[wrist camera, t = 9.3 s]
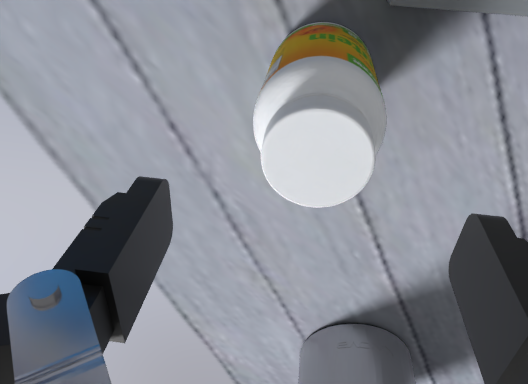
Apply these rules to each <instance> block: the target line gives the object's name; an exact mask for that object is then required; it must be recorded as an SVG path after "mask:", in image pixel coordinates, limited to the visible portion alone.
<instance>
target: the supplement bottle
mask: <svg viewBox="0 0 528 384" xmlns="http://www.w3.org/2000/svg"><path fill="white" fill-rule="evenodd" d="M386 123H387V116H386V108H385V103H384V100H383V96H382V93H381V90H380V87H379V83H378V79H377V76H376V73H375V70H374V66H373V63H372V59H371V56H370V54H369V51H368V49H367V47H366V45H365V44H364V43H363V41H362V40H361V39H360V38H359V37H358V36H357V35H356V34H355V33H354V32H353V31H351V30H350V29H348V28H346V27H344V26H342V25H339V24H336V23H330V22H316V23H311V24H308V25H305V26H302V27H300V28H298V29H297V30H295V31H293V32H292V33H291V34H290V35H288V36H287V37H286V38H285V39H284V41H283V42H282V43H281V45H280V46H279V48H278V49H277V51H276V53H275V55H274V57H273V59H272V62H271V65H270V67H269V70H268V73H267V75H266V78H265V80H264V83H263V86H262V88H261V91H260V93H259V96H258V99H257V102H256V106H255V110H254V116H253V128H254V135H255V140H256V142H257V145H258V148H259V149H260V151H261V164H262V169H263V172H264V175H265V177H266V179H267V180H268V182H269V184H270V185H271V186H272V188H273V189H274V190H275V191H276V192H277V193H279V194H280V195H281V196H283V197H284V198H285V199H287V200H289V201H291V202H293V203H296V204H299V205H302V206H307V207H318V208H319V207H329V206H334V205H337V204H340V203H343V202H345V201H347V200H349V199H351V198H352V197H354V196H355V195H356V194H358V193H359V192H360V191H361V190H362V189H363V188H364V187H365V185H366V184H367V182H368V181H369V179H370V177H371V175H372V173H373V170H374V166H375V159H376V154H377V152H378V151H379V149H380V147H381V145H382V142H383V139H384V136H385V131H386Z"/></svg>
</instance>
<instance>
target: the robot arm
mask: <svg viewBox="0 0 528 384" xmlns="http://www.w3.org/2000/svg"><path fill="white" fill-rule="evenodd" d="M172 231H173V221H172V211H171V200H170V190H169V183H168V181H167V180H166V179H158V178H149V177H138V178H137V179H136V180H135V181H134V183H133V184H132V186H131V187H130V189H129V190H128V192H127V193H119V192H117V193H116V194H114V195H113V196H111V197H110V198H108V199H107V200H105V201H104V202H102V203H101V205H100V206H99V207H98V209H97V210H96V211H95V213H94V214H93V216H92V218H90V219H89V221H88V222H87V223H86V225H85V226H84V229H82V230H81V231H80V233H79V234H78V236H77V237H76V238H75V240H74V241H73V242H72V244H71V245H70V246H69V248H68V249H67V250H66V252H65V253H64V254H63V256H62V257H61V258H60V260H59V261H58V262H57V264H56V265H55V266H54V268H53V269H52V270H46V271H42V272H39V273H36V274H33V275H31V276H29V277H27V278H26V279H24V280H23V281H22V282H20V283H19V284H18V285H17V286H16V287H15V288H14V289H13V290H12V292H11V293H7V294H0V384H111V381H110V377H109V374H108V371H107V367H106V364H105V361H104V357H103V352H104V350H105V348H106V346H107V344H108V342H109V341H113V342H120V343H125V342H126V339H127V337H128V335H129V333H130V330H131V328H132V326H133V323H134V322H135V320H136V317H137V315H138V313H139V311H140V309H141V306H142V304H143V301H144V300H145V298H146V295H147V293H148V291H149V289H150V287H151V284H152V282H153V280H154V278H155V276H156V273H157V271H158V269H159V267H160V265H161V262H162V260H163V258H164V256H165V254H166V251H167V249H168V247H169V245H170V242H171V237H172ZM449 278H450V282H451V285H452V288H453V291H454V294H455V297H456V300H457V303H458V306H459V309H460V312H461V314H462V317H463V320H464V323H465V326H466V329H467V332H468V335H469V338H470V341H471V344H472V347H473V350H474V353H475V356H476V359H477V362H478V365H479V368H480V371H481V374H482V377H483V380H484V383H485V384H528V242H527V241H526V240H525V239H521V238H517V237H516V235H515V233H514V232H513V230H512V228H511V226H510V225H509V223H508V221H507V220H506V219H505V218H504V217H499V216H490V215H481V214H471V215H469V216H468V218H467V220H466V222H465V224H464V227H463V229H462V231H461V234H460V236H459V238H458V241H457V243H456V246H455V248H454V250H453V253H452V255H451V258H450V262H449ZM298 384H416V381H415V376H414V371H413V365H412V360H411V356H410V352H409V349H408V348H407V346H406V345H405V343H404V342H403V341H401V340H400V339H399V338H398V337H397V336H395V335H393V334H392V333H390V332H388V331H386V330H383V329H380V328H378V327H374V326H369V325H363V324H341V325H336V326H331V327H327V328H325V329H322V330H320V331H318V332H316V333H314V334H313V335H311V336H310V337H309V338H308V339H307V340H306V341H305V342H304V344H303V346H302V348H301V352H300V362H299V379H298Z"/></svg>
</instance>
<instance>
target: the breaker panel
mask: <svg viewBox="0 0 528 384" xmlns="http://www.w3.org/2000/svg"><path fill="white" fill-rule="evenodd" d="M387 1H388V2H389V4H390V5H393V6H405V7H417V8H430V9H442V10H454V11H466V12H479V13H491V14H503V15H515V16H528V0H387Z"/></svg>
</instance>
